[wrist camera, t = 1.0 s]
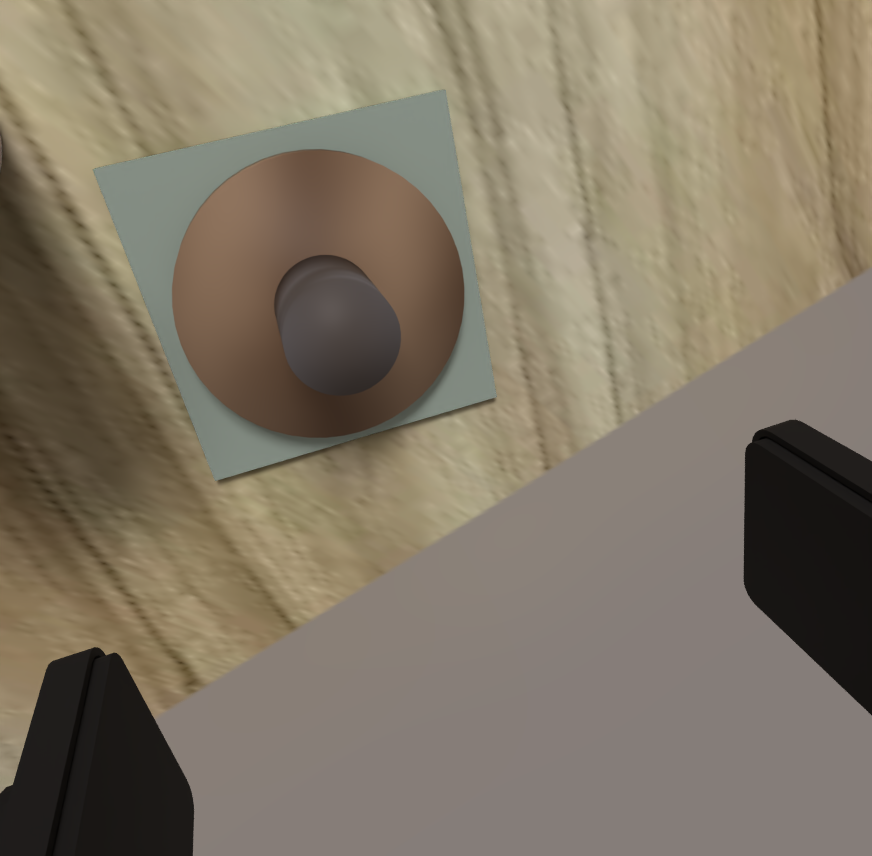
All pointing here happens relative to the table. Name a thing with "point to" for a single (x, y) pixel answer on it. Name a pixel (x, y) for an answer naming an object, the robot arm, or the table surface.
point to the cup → (0, 153)
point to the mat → (217, 161)
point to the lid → (317, 293)
